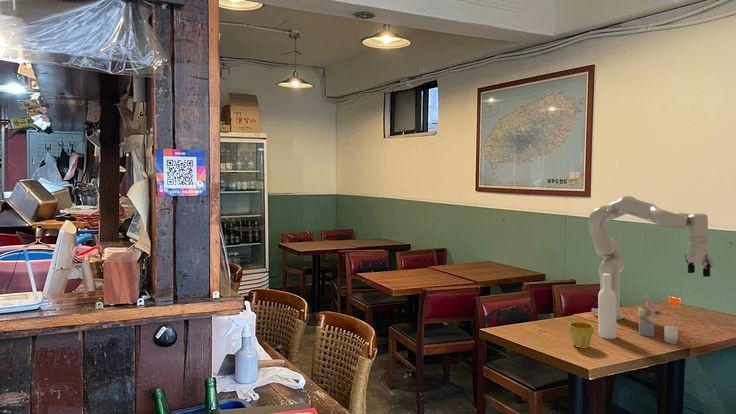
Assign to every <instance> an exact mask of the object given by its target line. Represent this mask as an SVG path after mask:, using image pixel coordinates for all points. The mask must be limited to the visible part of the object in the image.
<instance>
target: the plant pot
mask: <svg viewBox="0 0 736 414" xmlns="http://www.w3.org/2000/svg"><path fill="white" fill-rule="evenodd" d="M594 327H595V326H594V324H591V323H588V322H583V321H573V322H570V323H569V324H568V332H569V333H570V338H571V342H572V345H573V344H574V345H576V346H580V347H588V346H589V347H590V344H591V340H592V336H593V335H594V329H595V328H594Z"/></svg>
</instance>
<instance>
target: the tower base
mask: <svg viewBox="0 0 736 414" xmlns="http://www.w3.org/2000/svg"><path fill="white" fill-rule="evenodd" d="M638 332H639V333H638V334H639V336H647V337H655V323H654V324H649V323H640V322H639V321H638Z"/></svg>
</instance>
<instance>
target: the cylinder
mask: <svg viewBox="0 0 736 414" xmlns="http://www.w3.org/2000/svg"><path fill="white" fill-rule="evenodd" d="M663 328H664V331H663V333H664V339H663V341H665V342H664V343H666V344H669V343H670V344H671V345H677V344H678V342H679V341H678V338H679V336H678V335H679V332H678V331H679V328H678V326H676V325H672V324H671V325H670V324H669V325H668V324H667V325H664V326H663ZM670 344H669V345H670Z"/></svg>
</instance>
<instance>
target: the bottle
mask: <svg viewBox="0 0 736 414" xmlns="http://www.w3.org/2000/svg"><path fill="white" fill-rule="evenodd" d="M602 278H603V289H602V290H599V292H598V297H597V301H598V302H597V304H598V305H597V306H598V307H597V309H598V313H597V317H598V337H599V338H600V339H604V338H605V339H606V340H616V338H617V336H618V335H617V334H618V329H617V325H618V323H617V321H618V320H616V295H615V292H614V291H613V290H612V289H611V274H603V276H602Z"/></svg>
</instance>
